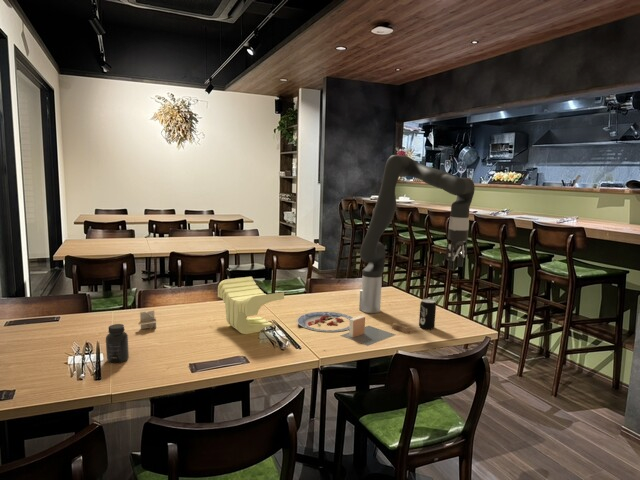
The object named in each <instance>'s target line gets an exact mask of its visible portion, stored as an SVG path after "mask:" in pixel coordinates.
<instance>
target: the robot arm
mask: <svg viewBox="0 0 640 480" xmlns="http://www.w3.org/2000/svg"><path fill="white" fill-rule="evenodd" d="M400 177H402V178H403V177H410V178H416V179H417V180H418V179H419V180H421V181H422V182H424V183H425V184H427V185H429V186H431V187H435V188H437V189H441V190H443V191H444V192H447V193H448V194H450V195H453V196H456V199H455V201H454V202H453V203H451V206H450V216H449V221H448V222H449V223H448V233H447V234H448V235H447V239H448V240H449V241H451V243H447V244H446V249H445V260H447V261H448V262H447V270H449V271H454V268H455V260H456V266H457V267H459V268H462V267H463V266H464V258H465V257H466V256H467V251H468V238H469V228H470V221H469V219H470V218H469V217H470V207H471V204H472V201H473V199H474V194H475V189H476V187H475V186H476V185H475V183H474V180H472V179H471V178H469V177H458V176H455V175H452V174H451V173H449V172H447V171H444V170H441V169H437V168H434V167H431V166H428V165H424V164H422V163H420V162H419V161H416V160H415V159H413V158H411V157H409V156H407V155H404V154H403V155H402V154H401V155H400V154H392V155H390V156H389V157H388V158H387V160H386V163H385V166H384V171H383V175H382V181H381V186H380V189H379V191H378V197H377V199H376V201H375V202H376V203H375V206H374V209H373V213H372V215H371V220H370V223H369V225H368V228H367V231H366V234H365V237H364V239H363V241H362V243H361V246H360V249H359V256H360V258H361V261H362V262H365V263H368V264H367V265H366V266H365V267H364V268H363V269H362V274H361V275H362V276H361V278H362V279H361V280H362V281H361V289H360V290H359V307H358V308H359V310H360V311H361V312H363V313H366V314H379V313H380V312H381V304H382V303H381V302H382V301H381V300H382V283H383V282H382V279H383V272H384V270H385V262H386V249H385V245H384V244H383V242H381V241H380V238H381V236H382V235H383V233H384V232H385V231H386V230H387V228H388V227H389V226H390V224H392V223H391V222H392V221H393V219H394V216H395V213H396V209H397V199H396V198H397V197H396V187H397V184H398V180H399V178H400ZM456 257H457V259H456Z"/></svg>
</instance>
